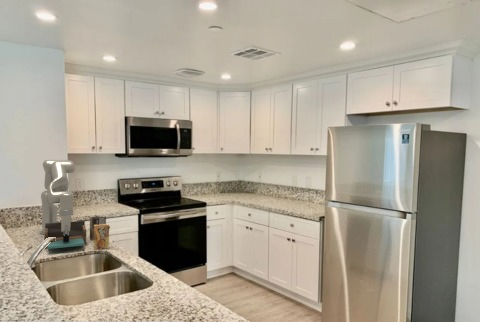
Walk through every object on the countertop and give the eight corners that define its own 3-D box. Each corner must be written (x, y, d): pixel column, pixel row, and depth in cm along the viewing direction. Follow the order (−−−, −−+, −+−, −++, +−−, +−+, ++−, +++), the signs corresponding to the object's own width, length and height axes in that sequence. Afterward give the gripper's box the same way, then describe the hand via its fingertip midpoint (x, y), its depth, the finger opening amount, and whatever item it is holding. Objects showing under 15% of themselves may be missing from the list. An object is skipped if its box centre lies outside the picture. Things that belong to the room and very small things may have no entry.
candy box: (108, 246, 220) (108, 223, 219) (108, 248, 216) (109, 225, 216) (93, 248, 216) (93, 224, 216) (93, 250, 212) (94, 226, 212)
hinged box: (45, 242, 226) (45, 223, 226) (84, 238, 238) (84, 220, 237) (44, 248, 212) (44, 228, 212) (86, 244, 224) (86, 225, 223)
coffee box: (106, 239, 236) (106, 217, 236) (98, 242, 231) (99, 218, 230) (96, 238, 240) (96, 215, 240) (89, 240, 234) (89, 217, 234)
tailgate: (48, 241, 213) (47, 246, 201) (82, 238, 222) (84, 243, 210) (48, 243, 213) (47, 249, 201) (82, 240, 222) (84, 245, 210)
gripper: (59, 210, 215) (59, 239, 216) (59, 215, 202) (59, 245, 203) (72, 210, 219) (72, 238, 219) (73, 214, 205) (73, 244, 206)
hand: (66, 241), depth 211 cm, fingers closed
